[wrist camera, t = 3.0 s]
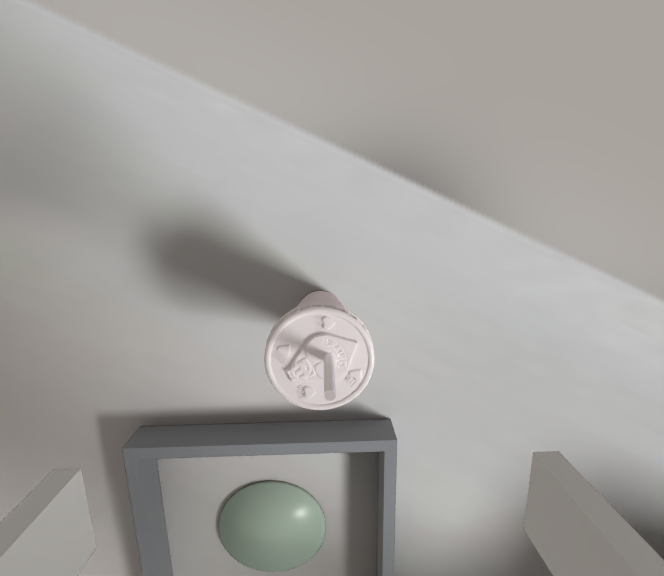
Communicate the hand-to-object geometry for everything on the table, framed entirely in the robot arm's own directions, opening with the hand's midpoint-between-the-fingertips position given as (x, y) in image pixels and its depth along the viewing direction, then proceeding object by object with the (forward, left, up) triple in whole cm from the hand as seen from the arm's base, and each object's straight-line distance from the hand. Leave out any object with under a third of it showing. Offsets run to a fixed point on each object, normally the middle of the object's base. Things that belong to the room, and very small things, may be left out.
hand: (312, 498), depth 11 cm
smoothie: (0, 0, -20) cm, 20 cm away
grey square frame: (+5, +21, -20) cm, 29 cm away
